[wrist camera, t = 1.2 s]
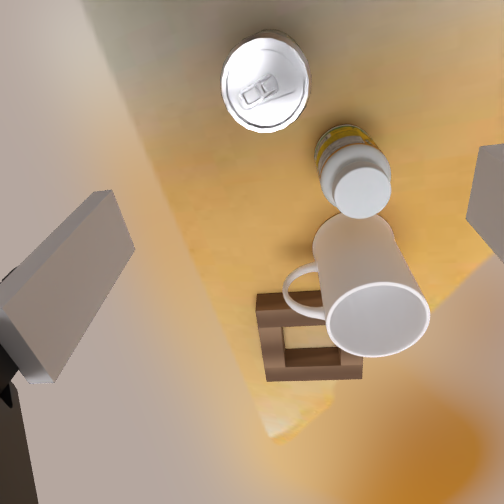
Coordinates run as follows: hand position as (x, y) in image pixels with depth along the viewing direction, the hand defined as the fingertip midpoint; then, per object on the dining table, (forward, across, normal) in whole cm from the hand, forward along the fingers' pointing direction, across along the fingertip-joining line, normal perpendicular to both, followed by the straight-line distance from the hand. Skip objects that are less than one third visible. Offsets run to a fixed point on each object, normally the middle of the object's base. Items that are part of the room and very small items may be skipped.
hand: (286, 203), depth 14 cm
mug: (+22, +4, -16) cm, 27 cm away
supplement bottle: (+22, +5, -6) cm, 23 cm away
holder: (+21, 0, -28) cm, 35 cm away
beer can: (+22, -1, +2) cm, 22 cm away
